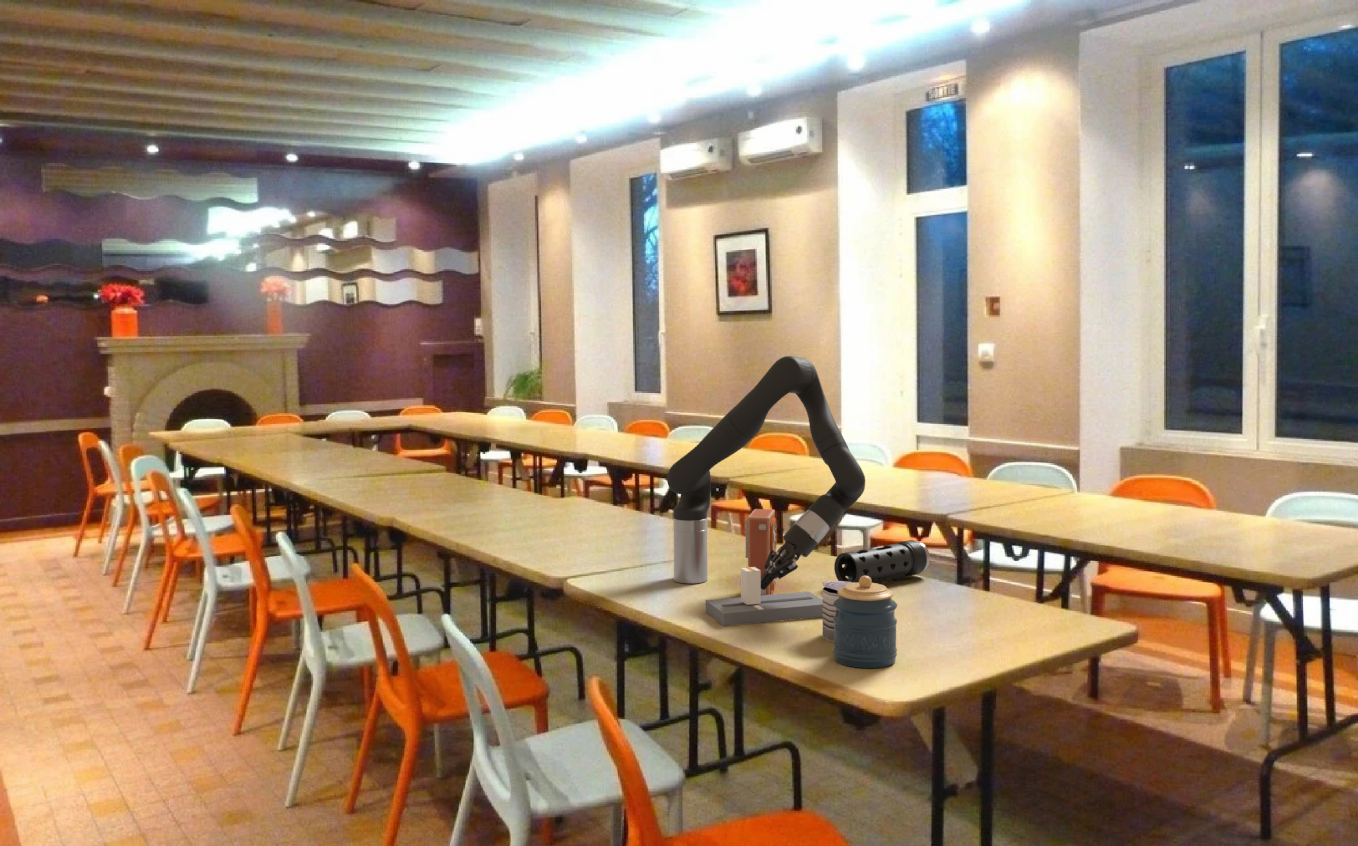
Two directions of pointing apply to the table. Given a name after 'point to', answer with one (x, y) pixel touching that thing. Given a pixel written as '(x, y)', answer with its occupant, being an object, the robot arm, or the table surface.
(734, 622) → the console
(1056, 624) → the table surface
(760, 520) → the control panel
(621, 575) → the table surface
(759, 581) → the fader tab
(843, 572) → the muzzle brake
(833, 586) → the can
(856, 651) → the canister
